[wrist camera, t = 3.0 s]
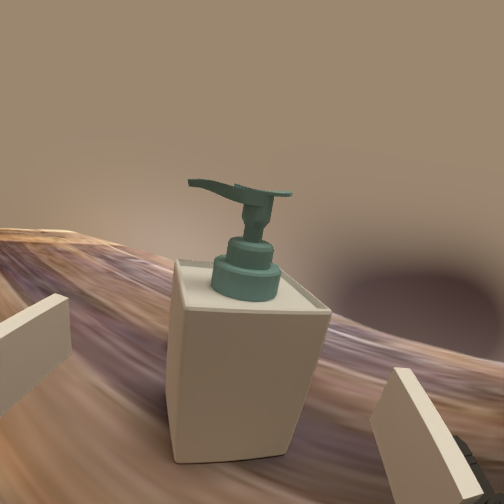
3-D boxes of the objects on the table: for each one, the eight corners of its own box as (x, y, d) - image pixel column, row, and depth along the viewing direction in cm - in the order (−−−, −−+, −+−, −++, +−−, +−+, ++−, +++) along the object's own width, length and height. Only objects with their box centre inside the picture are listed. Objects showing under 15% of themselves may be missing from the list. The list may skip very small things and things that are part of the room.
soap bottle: (163, 392, 26) (183, 174, 22) (254, 392, 28) (295, 192, 24) (172, 464, 18) (197, 176, 14) (286, 455, 20) (358, 205, 16)
